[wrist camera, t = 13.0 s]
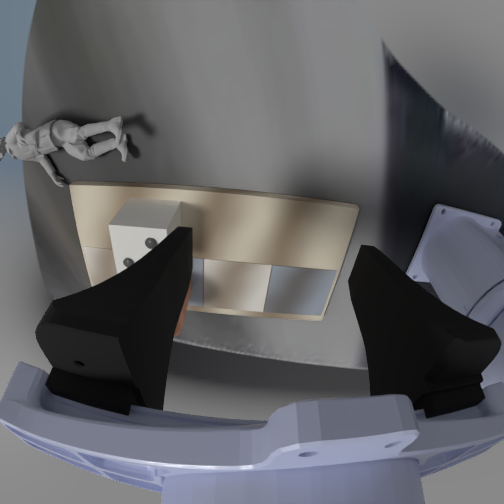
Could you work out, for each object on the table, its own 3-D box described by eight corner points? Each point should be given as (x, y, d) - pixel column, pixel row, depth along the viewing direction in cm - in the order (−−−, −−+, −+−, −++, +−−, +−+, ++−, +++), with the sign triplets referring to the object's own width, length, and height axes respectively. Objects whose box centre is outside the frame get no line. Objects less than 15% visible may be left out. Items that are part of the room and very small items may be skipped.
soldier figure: (135, 179, 22) (10, 209, 19) (131, 129, 23) (13, 160, 20) (117, 126, 15) (-39, 175, 12) (118, 68, 15) (-27, 117, 12)
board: (356, 204, 22) (359, 209, 21) (320, 314, 29) (321, 321, 28) (74, 181, 21) (68, 185, 20) (97, 291, 28) (94, 297, 27)
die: (180, 201, 21) (166, 230, 18) (181, 246, 23) (169, 280, 20) (129, 197, 21) (107, 225, 18) (134, 242, 23) (116, 274, 20)
